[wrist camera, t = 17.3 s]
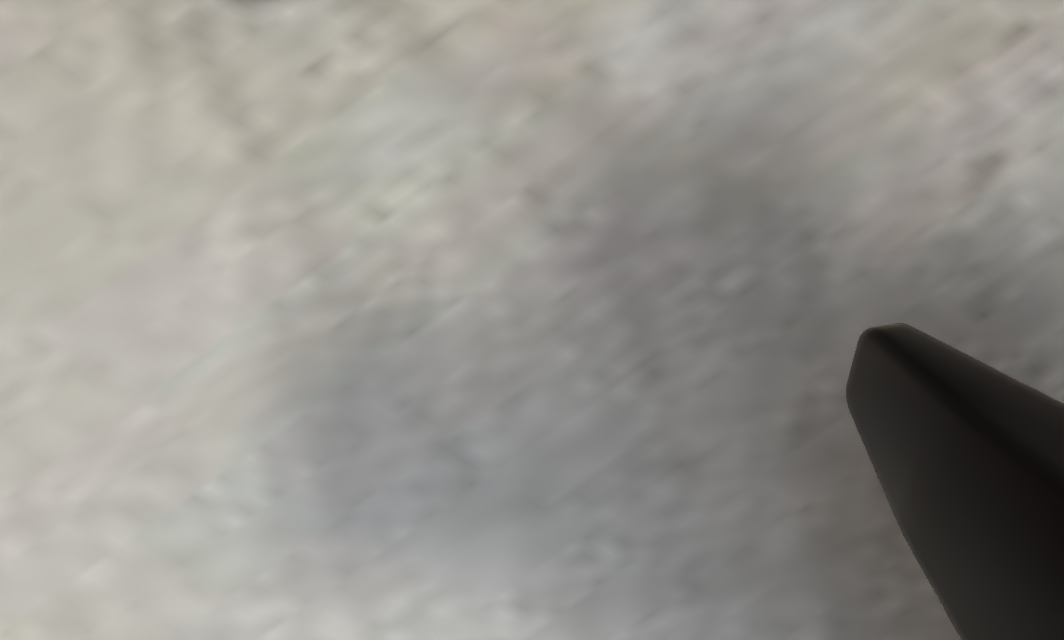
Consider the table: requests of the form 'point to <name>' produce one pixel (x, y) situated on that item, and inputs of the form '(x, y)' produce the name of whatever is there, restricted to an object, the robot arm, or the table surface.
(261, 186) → the table surface
